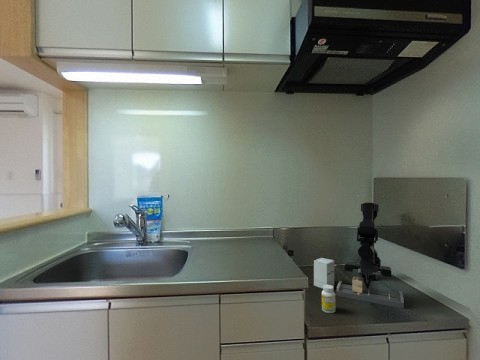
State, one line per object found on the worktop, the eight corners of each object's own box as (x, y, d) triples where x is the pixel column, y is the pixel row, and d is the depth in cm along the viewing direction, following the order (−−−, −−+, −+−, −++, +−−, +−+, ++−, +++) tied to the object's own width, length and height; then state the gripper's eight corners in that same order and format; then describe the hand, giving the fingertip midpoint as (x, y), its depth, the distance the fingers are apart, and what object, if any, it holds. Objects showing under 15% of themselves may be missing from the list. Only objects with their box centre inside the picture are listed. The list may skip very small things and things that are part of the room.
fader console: (339, 287, 129) (339, 280, 129) (401, 298, 116) (401, 290, 116) (336, 295, 120) (336, 288, 120) (403, 308, 108) (403, 299, 108)
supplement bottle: (335, 314, 103) (334, 290, 103) (320, 312, 106) (320, 288, 105) (335, 308, 108) (335, 284, 108) (322, 305, 111) (322, 283, 110)
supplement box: (327, 290, 126) (326, 263, 126) (313, 285, 131) (313, 260, 131) (335, 285, 131) (334, 260, 131) (321, 281, 136) (321, 257, 136)
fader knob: (353, 287, 123) (353, 276, 123) (362, 288, 122) (362, 277, 122) (352, 291, 119) (352, 279, 119) (362, 293, 117) (362, 281, 117)
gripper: (342, 255, 115) (343, 290, 116) (391, 261, 107) (392, 299, 107) (345, 249, 125) (345, 281, 125) (390, 254, 117) (391, 289, 117)
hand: (367, 287), depth 118 cm, fingers closed
